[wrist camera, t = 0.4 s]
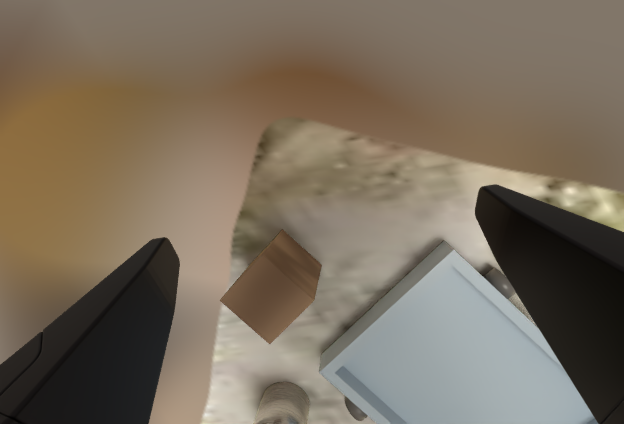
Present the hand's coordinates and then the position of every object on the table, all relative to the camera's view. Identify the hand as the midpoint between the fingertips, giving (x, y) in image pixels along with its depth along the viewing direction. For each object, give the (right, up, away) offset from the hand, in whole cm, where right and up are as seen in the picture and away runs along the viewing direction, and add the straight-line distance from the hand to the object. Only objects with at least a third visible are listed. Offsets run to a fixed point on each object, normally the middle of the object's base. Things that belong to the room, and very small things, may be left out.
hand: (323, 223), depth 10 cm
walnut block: (-2, -4, +16) cm, 16 cm away
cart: (+11, -12, +16) cm, 23 cm away
